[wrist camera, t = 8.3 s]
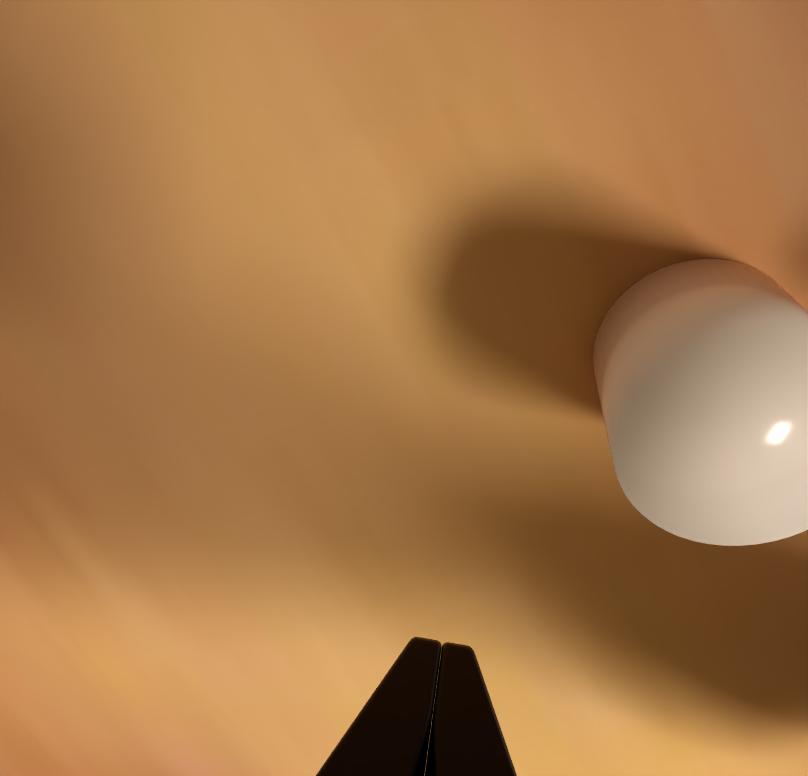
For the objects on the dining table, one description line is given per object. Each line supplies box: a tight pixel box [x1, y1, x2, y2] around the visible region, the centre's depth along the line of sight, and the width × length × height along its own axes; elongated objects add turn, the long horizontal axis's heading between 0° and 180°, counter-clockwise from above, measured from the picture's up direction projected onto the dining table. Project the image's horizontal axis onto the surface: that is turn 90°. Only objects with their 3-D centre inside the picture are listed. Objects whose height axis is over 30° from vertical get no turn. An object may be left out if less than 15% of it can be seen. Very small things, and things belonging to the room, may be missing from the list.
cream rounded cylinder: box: [593, 259, 808, 546], centre depth 17 cm, size 6×6×5 cm
